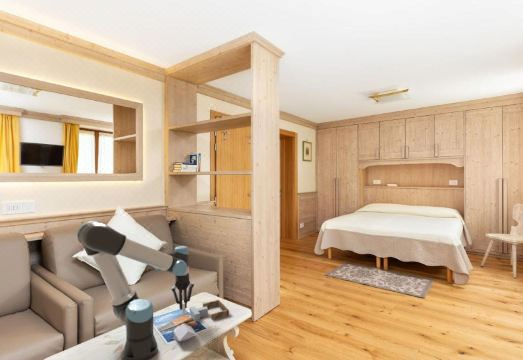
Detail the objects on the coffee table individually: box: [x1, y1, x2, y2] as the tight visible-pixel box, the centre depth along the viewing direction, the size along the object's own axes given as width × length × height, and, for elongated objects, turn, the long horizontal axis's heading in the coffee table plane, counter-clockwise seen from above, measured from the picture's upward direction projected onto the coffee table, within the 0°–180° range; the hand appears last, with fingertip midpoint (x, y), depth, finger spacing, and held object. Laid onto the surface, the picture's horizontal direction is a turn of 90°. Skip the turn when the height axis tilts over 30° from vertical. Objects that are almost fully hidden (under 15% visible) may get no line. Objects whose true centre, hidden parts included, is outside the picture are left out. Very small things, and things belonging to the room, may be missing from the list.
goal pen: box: [202, 299, 230, 321], centre depth 173 cm, size 10×16×3 cm, turn 30°
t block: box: [189, 306, 209, 322], centre depth 168 cm, size 9×10×4 cm
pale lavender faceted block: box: [173, 323, 198, 342], centre depth 146 cm, size 9×7×13 cm
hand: (183, 314), depth 164 cm, fingers closed
